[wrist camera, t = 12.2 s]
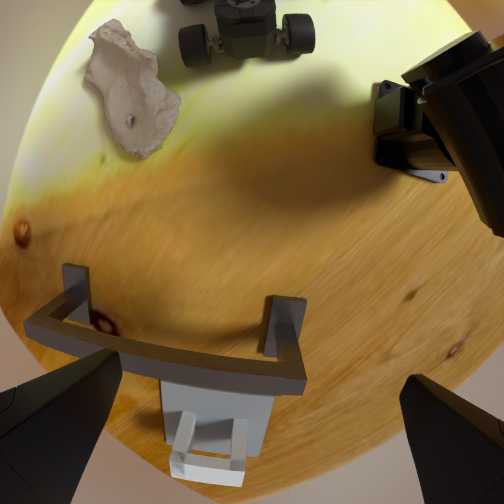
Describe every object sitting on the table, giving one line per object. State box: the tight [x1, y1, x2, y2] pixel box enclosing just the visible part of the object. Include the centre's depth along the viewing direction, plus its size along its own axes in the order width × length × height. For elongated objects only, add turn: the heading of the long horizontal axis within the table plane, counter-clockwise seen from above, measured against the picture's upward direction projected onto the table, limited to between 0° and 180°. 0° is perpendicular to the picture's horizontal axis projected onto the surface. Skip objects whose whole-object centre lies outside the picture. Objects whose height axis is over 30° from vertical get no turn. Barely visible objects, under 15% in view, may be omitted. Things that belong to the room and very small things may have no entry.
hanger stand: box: [23, 263, 307, 396], centre depth 18 cm, size 19×5×7 cm, turn 83°
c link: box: [169, 411, 247, 487], centre depth 21 cm, size 3×6×6 cm, turn 83°
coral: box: [84, 18, 181, 160], centre depth 15 cm, size 6×10×4 cm, turn 34°
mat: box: [161, 380, 275, 457], centre depth 24 cm, size 10×10×1 cm
